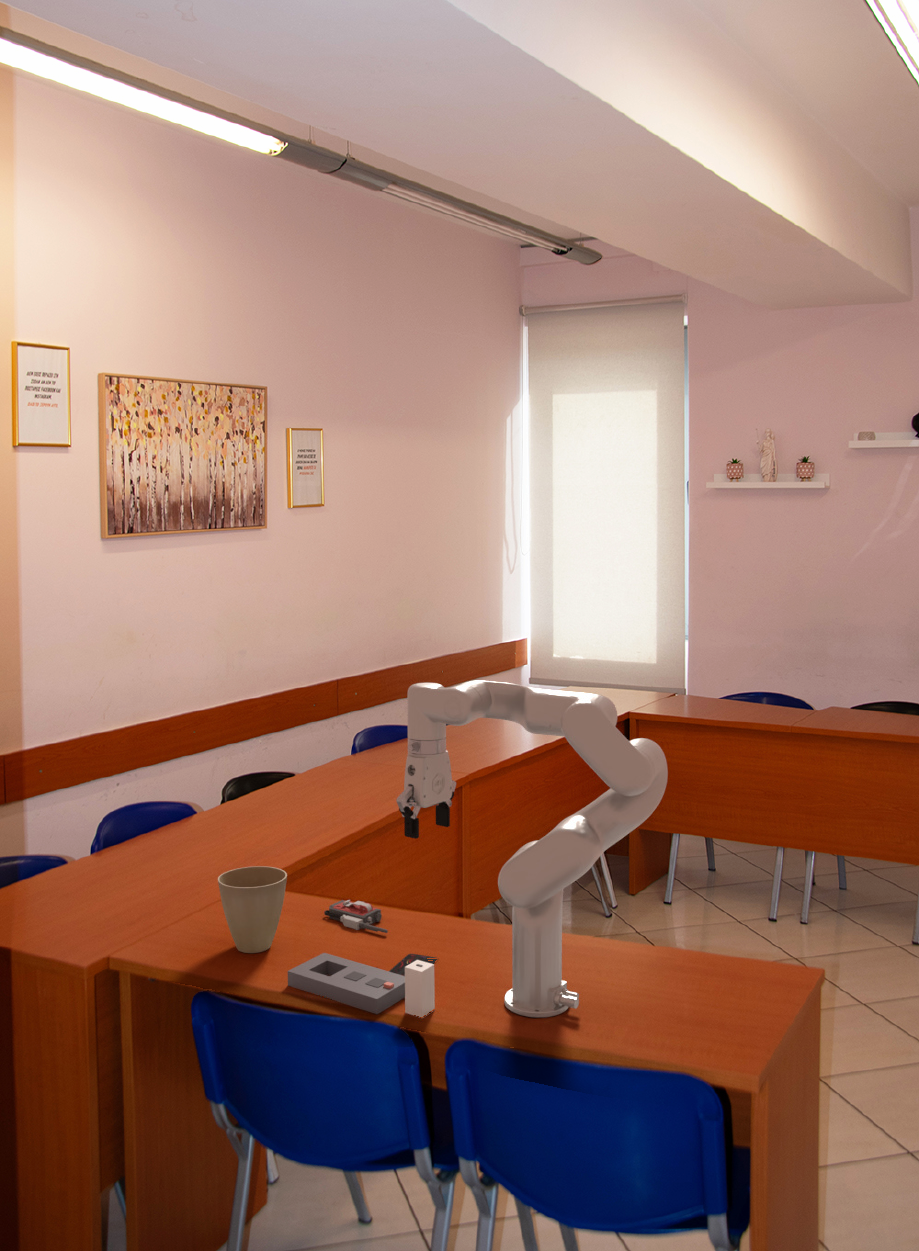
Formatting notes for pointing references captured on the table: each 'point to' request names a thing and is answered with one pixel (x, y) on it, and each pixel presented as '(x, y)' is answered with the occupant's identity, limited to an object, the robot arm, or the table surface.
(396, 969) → the smartphone
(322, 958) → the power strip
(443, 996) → the table surface
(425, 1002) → the block
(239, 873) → the plant pot
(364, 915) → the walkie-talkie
